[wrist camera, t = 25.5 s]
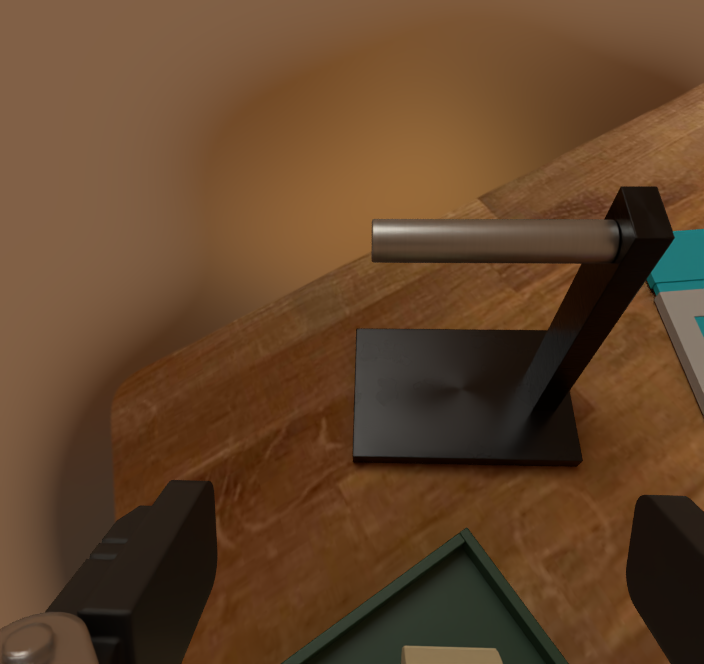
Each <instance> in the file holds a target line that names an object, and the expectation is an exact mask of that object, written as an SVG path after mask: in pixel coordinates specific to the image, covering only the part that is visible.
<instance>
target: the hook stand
mask: <svg viewBox="0 0 704 664" xmlns="http://www.w3.org/2000/svg"><path fill="white" fill-rule="evenodd" d="M674 239H675V236H674V233H673V231H672V228H671V225H670V222H669V219H668V216H667V214H666V211H665V208H664V205H663V202H662V199H661V196H660V194H659V191H658V188H657V187H620V189H619V191H618V193H617V195H616V197H615V199H614V201H613V203H612V205H611V207H610V209H609V211H608V213H607V215H606V217H605V219H604V220H570V219H373V220H372V262H384V263H577V264H581V266H580V268H579V270H578V272H577V274H576V276H575V278H574V280H573V282H572V284H571V286H570V288H569V290H568V292H567V294H566V296H565V298H564V299H563V301H562V303H561V305H560V307H559V309H558V311H557V313H556V315H555V317H554V319H553V321H552V323H551V325H550V327H549V329H548V330H452V329H356V362H355V395H354V429H353V462H365V463H416V464H468V465H519V466H571V467H577V466H578V465H579V464H580V463H581V462H582V461H583V460H582V454H581V449H580V444H579V439H578V433H577V428H576V423H575V417H574V412H573V407H572V402H571V396H570V389H571V388H572V386H573V385H574V383H575V382H576V381H577V379H578V378H579V376H580V375H581V373H582V372H583V370H584V369H585V368H586V366H587V365H588V363H589V362H590V360H591V359H592V357H593V356H594V355H595V353H596V352H597V350H598V349H599V347H600V346H601V344H602V343H603V341H604V340H605V339H606V337H607V336H608V334H609V333H610V331H611V330H612V328H613V327H614V326H615V324H616V323H617V321H618V320H619V318H620V317H621V315H622V314H623V313H624V311H625V310H626V308H627V307H628V305H629V304H630V302H631V301H632V300H633V298H634V297H635V295H636V294H637V292H638V291H639V289H640V288H641V287H642V285H643V284H644V282H645V281H646V279H647V278H648V276H649V275H650V273H651V272H652V271H653V269H654V268H655V266H656V265H657V263H658V262H659V260H660V259H661V258H662V256H663V255H664V253H665V252H666V250H667V249H668V247H669V246H670V245H671V243H672V242H673V240H674Z"/></svg>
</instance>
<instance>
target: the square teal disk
mask: <svg viewBox="0 0 704 664" xmlns="http://www.w3.org/2000/svg"><path fill="white" fill-rule="evenodd" d="M673 233H674V236H675V239H674V240H673V242H672V243H671V245H670V246H669V247H668V249H667V250H666V252H665V253H664V255H663V256H662V258H661V259H660V260H659V262H658V263H657V265H656V266H655V268H654V269H653V271H652V272H651V273H650V275H649V276H648V278H647V281H648V284H649V286H650V288H651V289H654V292H655V294H656V297H655V299H654V301H655V303H656V306H657V308H658V310H659V313H660V315H661V317H662V320H663V322H664V324H665V327H666V329H667V331H668V334H669V336H670V338H671V341H672V343H673V345H674V348H675V350H676V352H677V355H678V357H679V359H680V362H681V364H682V366H683V369H684V371H685V373H686V376H687V378H688V380H689V383H690V385H691V387H692V390H693V392H694V395H695V397H696V399H697V402H698V404H699V406H700V409H701V411H702V413H703V416H704V229H698V230H684V231H673Z"/></svg>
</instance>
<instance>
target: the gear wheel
mask: <svg viewBox="0 0 704 664" xmlns="http://www.w3.org/2000/svg"><path fill="white" fill-rule="evenodd" d="M401 664H503V662H502V660H501V657H500V655H499V653H498V651H496V648H468V647H434V646H404V647H402V655H401Z"/></svg>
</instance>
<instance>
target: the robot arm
mask: <svg viewBox="0 0 704 664" xmlns="http://www.w3.org/2000/svg"><path fill="white" fill-rule="evenodd" d="M216 568H217V537H216V518H215V499H214V488H213V485H212V483H211V482H210V481H187V480H171V481H170V482H169V483H168V484H167V486H166V487H165V488H164V490H163V491H162V493H161V494H160V495H159V497H158V498H157V500H156V501H155V502H154V504H153V505H152V506H139V507H137V508H136V509H134V510H133V511H131V512H130V513H128V514H127V515H125V516H123V517H122V518H120V519H119V520H117V521H116V523H115V524H114V525H113V526H112V528H111V529H110V530H109V532H108V533H107V534H106V535H105V536H104V538H103V539H102V543H99V544H98V545H97V547H96V548H95V549H94V551H93V552H92V553H91V554H90V558H89V559H86V561H85V562H84V563H83V564H82V566H81V567H80V568H79V570H78V571H77V572H76V573H75V575H74V576H73V577H72V579H71V580H70V581H69V582H68V583H67V585H66V586H65V587H64V589H63V590H62V591H61V592H60V594H59V595H58V596H57V597H56V599H55V600H54V601H53V602H52V604H51V605H50V606H49V608H48V609H47V610H46V612H45V613H40V614H35V615H32V616H29V617H25V618H22V619H20V620H17V621H15V622H12V623H11V624H9V625H7V626H5V627H3V628H1V629H0V664H181V663H182V660H183V658H184V655H185V653H186V651H187V648H188V646H189V643H190V641H191V638H192V636H193V634H194V631H195V629H196V626H197V624H198V621H199V619H200V617H201V614H202V612H203V609H204V607H205V604H206V602H207V600H208V597H209V595H210V592H211V590H212V587H213V584H214V580H215V575H216ZM626 580H627V586H628V591H629V595H630V597H631V600H632V602H633V604H634V606H635V608H636V609H637V611H638V613H639V614H640V616H641V617H642V619H643V620H644V622H645V624H646V625H647V627H648V628H649V630H650V632H651V633H652V635H653V636H654V638H655V639H656V641H657V643H658V644H659V646H660V647H661V649H662V651H663V652H664V654H665V655H666V657H667V658H668V660H669V662H670V663H671V664H704V512H703V511H702V510H701V509H700V508H699V507H698V506H697V505H696V504H695V503H694V502H693V501H692V500H691V499H689V498H688V497H686V496H668V495H642V496H640V497H639V498H638V500H637V502H636V505H635V511H634V518H633V525H632V532H631V539H630V546H629V552H628V559H627V567H626Z"/></svg>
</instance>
